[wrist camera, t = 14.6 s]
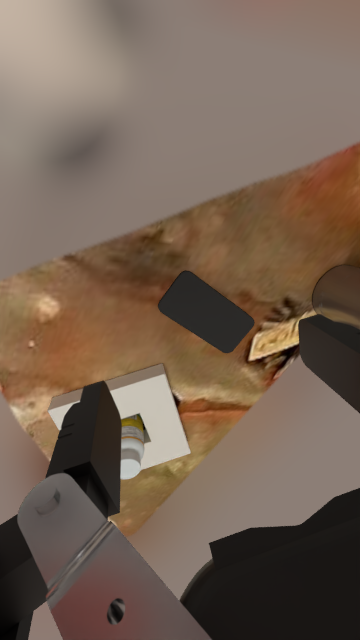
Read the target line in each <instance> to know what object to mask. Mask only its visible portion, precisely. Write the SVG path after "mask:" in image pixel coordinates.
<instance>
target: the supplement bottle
mask: <svg viewBox="0 0 360 640" xmlns="http://www.w3.org/2000/svg"><path fill="white" fill-rule="evenodd" d="M121 423H122V437H121V476H120V479H130V478H133V477H135V476H136V475H137V474H138V473H139V472H140V469H141V459H142V458H143V455H144V434H143V420H142V417H141V415H140V413H138V414H135V415H132V416H129V417H126V418H123V419H121Z"/></svg>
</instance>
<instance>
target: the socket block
mask: <svg viewBox="0 0 360 640" xmlns="http://www.w3.org/2000/svg"><path fill="white" fill-rule="evenodd" d="M105 382H106V384H107V386H108V388H109V390H110V393H111V395H112V397H113V399H114V402H115V404H116V406H117V408H118V411H119V413H120V417H121V419H123V418H126V417H129V416H132V415H135V414H138V413H140V415H141V417H142V420H143V422H144V425H145V427H146V430H143V434H144V455H143V458H142V459H141V469H140V470H142V469H145V468H148V467H151V466H154V465H157V464H160V463H163V462H166V461H169V460H172V459H175V458H178V457H181V456H184V455H187V454H190V449H189V445H188V441H187V438H186V435H185V432H184V428H183V425H182V422H181V419H180V416H179V413H178V410H177V407H176V404H175V401H174V397H173V394H172V391H171V388H170V385H169V382H168V379H167V376H166V373H165V370H164V367H163V363H162V364H159V365H155V366H152V367H149V368H146V369H143V370H139V371H136V372H133V373H130V374H127V375H123V376H120V377H117V378H114V379H111V380H107V381H105ZM82 391H83V388H82V389H78V390H75V391H72V392H69V393H66V394H62V395H59V396H56V397H53V398H52V401H51V403H50V406H49V408H48V412H49V414H50V416H51V417H52V419H53V421H54V422H55V424H56V426H57V427H58V429H59V431H60V430H61V425H62V422H63V419H64V416H65V414H66V413H67V411H68V410H69V409H70V407H71V406H72V405H73V404H74V403H78V402H80V399H81V395H82Z"/></svg>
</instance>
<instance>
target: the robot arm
mask: <svg viewBox="0 0 360 640" xmlns="http://www.w3.org/2000/svg"><path fill="white" fill-rule="evenodd" d="M313 307H314V309H315V311H316V312H317V315H314V316H311V317H308V318H304V319H301V320H300V321H299V324H298V327H299V345H300V355H301V358H302V360H303V362H304V363H305V365H306V366H307V367H308V368H309V369H310V370H311V371H312V372H313V373H315V374H316V375H317V376H318V377H319V378H320V379H321V380H323V381H324V382H325V383H326V384H327V385H328V386H329V387H331V388H332V389H333V390H334V391H335V392H336V393H338V394H339V395H340V396H341V397H342V398H343V399H345V401H346V402H348V403H349V404H350V405H351V406H352V407H353V408H354V409H356V410H357V411H358V412H359V413H360V268H358V267H354V266H350V265H341V266H338V267H335V268H333V269H331V270H330V271H328V272H327V273H326V274H325V275H324V276H323V277H322V278H321V279H320V280H319V282H318V283H317V285H316V287H315V290H314V293H313ZM121 437H122V423H121V417H120V413H119V411H118V408H117V406H116V404H115V402H114V399H113V397H112V395H111V393H110V390H109V388H108V386H107V384H106V382H105V381H100V382H97V383H94V384H91V385H88V386H84V388H83V391H82V395H81V399H80V402H78V403H74V404H73V405H72V406H71V407H70V409H69V410H68V411H67V413H66V414H65V416H64V419H63V422H62V425H61V430H60V432H59V435H58V440H57V442H56V445H55V448H54V451H53V455H52V458H51V461H50V465H49V468H48V471H47V474H46V478H45V479H44V480H42V481H41V482H40V483H38V484H37V485H36V486H35V487H34V488H33V489H32V490H31V491H30V492H29V493H28V495H27V496H26V497H25V499H24V501H23V502H22V504H21V506H20V508H19V511H18V514H17V515H15V516H14V517H12V518H11V519H9V520H8V521H6V522H5V523H3V524H1V525H0V640H28V637H29V631H30V626H31V621H32V616H33V611H34V610H35V609H37V608H38V607H39V606H40V605H42V604H43V603H44V602H46V601H47V603H48V606H49V609H50V611H51V613H52V615H53V618H54V620H55V622H56V625H57V627H58V629H59V631H60V634H61V636H62V638H63V640H360V488H358V489H356V490H353V491H350V492H347V493H345V494H342V495H339V496H336V497H334V498H333V499H332V500H330V501H329V502H328V503H327V504H326V505H324V506H323V507H322V508H321V509H320V510H318V511H317V512H316V513H315V514H313V515H312V516H311V517H310V518H309V519H307V520H306V521H305V522H304V523H302V524H300V525H297V526H280V527H258V528H249V529H246V530H243V531H241V532H238V533H235V534H233V535H230V536H227V537H225V538H222V539H219V540H216V541H213V542H211V543H209V545H210V549H211V553H212V557H213V558H212V559H211V560H210V561H209V562H207V563H206V564H205V565H204V566H203V567H202V568H201V569H200V570H199V571H198V572H197V573H196V575H195V576H194V577H193V579H192V580H191V582H190V583H189V584H188V586H187V588H186V589H185V591H184V593H183V595H182V596H181V599H180V601H179V600H178V599H177V598H176V596H175V595H174V594H173V593H172V592H171V591H170V589H169V588H168V587H167V586H166V585H165V583H164V582H163V581H162V580H161V579H160V578H159V577H158V575H157V574H156V573H155V572H154V570H153V569H152V568H151V567H150V566H149V565H148V563H147V562H146V561H145V560H144V559H143V557H142V556H141V555H140V554H139V553H138V552H137V551H136V549H135V548H134V547H133V546H132V544H131V543H130V542H129V541H128V540H127V539H126V537H125V536H124V535H123V534H122V533H121V531H120V530H119V529H118V528H117V527H116V526H115V525H114V524H113V523H112V522H111V521H110V522H109V521H108V516H111V515H114V514H117V513H120V476H121Z"/></svg>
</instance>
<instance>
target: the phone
mask: <svg viewBox="0 0 360 640" xmlns="http://www.w3.org/2000/svg"><path fill="white" fill-rule="evenodd" d="M158 308H159V310H160V312H162V313H163V314H164V315H166V316H168V317H169V318H171V319H172V320H174V321H175V322H177V323H178V324H180V325H182V326H183V327H185V328H186V329H188V330H189V331H191V332H192V333H194V334H196V335H197V336H199V337H200V338H202V339H203V340H205V341H206V342H208V343H210V344H211V345H213V346H214V347H216V348H217V349H219V350H220V351H222V352H224V353H230V352H232V351H233V350H234V348H235V347H236V346H237V345H238V344H239V343H240V341H241V340H242V339H243V338H244V337H245V336H246V334H247V333H248V332H249V331H250V330H251V328H252V327H253V325H254V320H253V318H251V317H250V316H249V315H248V314H247V313H246V312H244V311H242V309H240V308H239V307H238V306H236V305H235V304H234V303H232V302H231V301H229V300H228V299H226V298H225V297H224V296H222V295H221V294H220V293H218V292H217V291H216V290H214V289H213V288H212V287H210V286H209V285H208V284H206V283H205V282H203V281H202V280H201V279H199V278H198V277H197V276H195V275H194V274H193V273H191V272H189V271H183V272H182V273H180V275H179V276H178V277H177V279H176V280H175V281H174V283H173V284H172V285H171V287H170V288H169V289H168V291H167V292H166V293H165V295H164V296H163V297H162V299H161V300H160V302H159V304H158Z"/></svg>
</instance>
